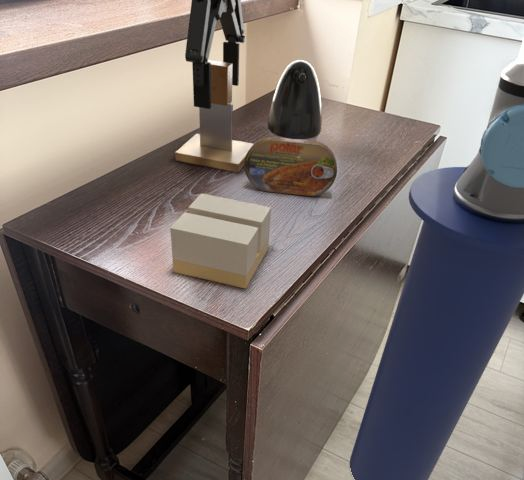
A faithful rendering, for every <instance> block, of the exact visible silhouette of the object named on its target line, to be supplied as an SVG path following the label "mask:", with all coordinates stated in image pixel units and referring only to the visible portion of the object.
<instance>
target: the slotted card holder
mask: <svg viewBox="0 0 524 480" xmlns="http://www.w3.org/2000/svg"><path fill="white" fill-rule="evenodd" d="M271 215H272V207H271V206H266V205H261V204H257V203H252V202H251V203H250V202H247V201H242V200H237V199H236V200H235V199H231V198H226V197H221V196H217V195H211V194H207V193H199V195H198V196H197V197H196V198H195V199H194V200H193V202H192V203H190V205H189V206H188V212H185V211H184V212H183V213H182V214H181V215H180V216H179V218H178V219H177V220H175V222H174V223H173V224H172V225H171V226H170V229H169V231H170V242H171V243H170V244H171V245H170V246H171V255H172V256H171V257H172V269H173V273H176V274H181V275H185V276H189V277H193V278H199V279H203V280H207V281H211V282H216V283H220V284H225V285H228V286H232V287H237V288H241V289H245V290H246V289H247V287H248V286H249V284H250V282H251V280H252V279H253V277H254V274H255V273H256V271H257V270H258V268H259V266H260V264H261V263H262V261H263V259H264V257H265V256H266V254H267V252H268V250H269V242H270V241H269V240H270V229H271V228H270V227H271V217H272V216H271Z"/></svg>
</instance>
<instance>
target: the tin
mask: <svg viewBox="0 0 524 480" xmlns="http://www.w3.org/2000/svg"><path fill="white" fill-rule="evenodd" d="M252 144H253V145H252V147H251V148H250V149H249V151H248V152H247V154H246V157H245V161H244V166H243V168H244V173H245V175H246V178H247V180H248V181H249V182H250V184H251V185H252V186H254V187H255V188H256V189H258V190H260V191H263V192H265V193H266V192H268V193H277V194H285V195H295V196H305V197H318V196H319V195H322V194H324V193H326V192H327V191H328V190H330V189H331V187H332V186H333V184H334V183H335V181H336V178H337V174H338V166H337V165H338V164H337V160H336V157H335V154H334V151H332V149H331V148H330V147H329V146H328V145H326V144H325V143H323V142H320V141H318V140H316V141H308V140H298V139H287V138H278V137H271V136H265V137H263V138H260V139H258V140H257V141H255V142H254V143H252Z"/></svg>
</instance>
